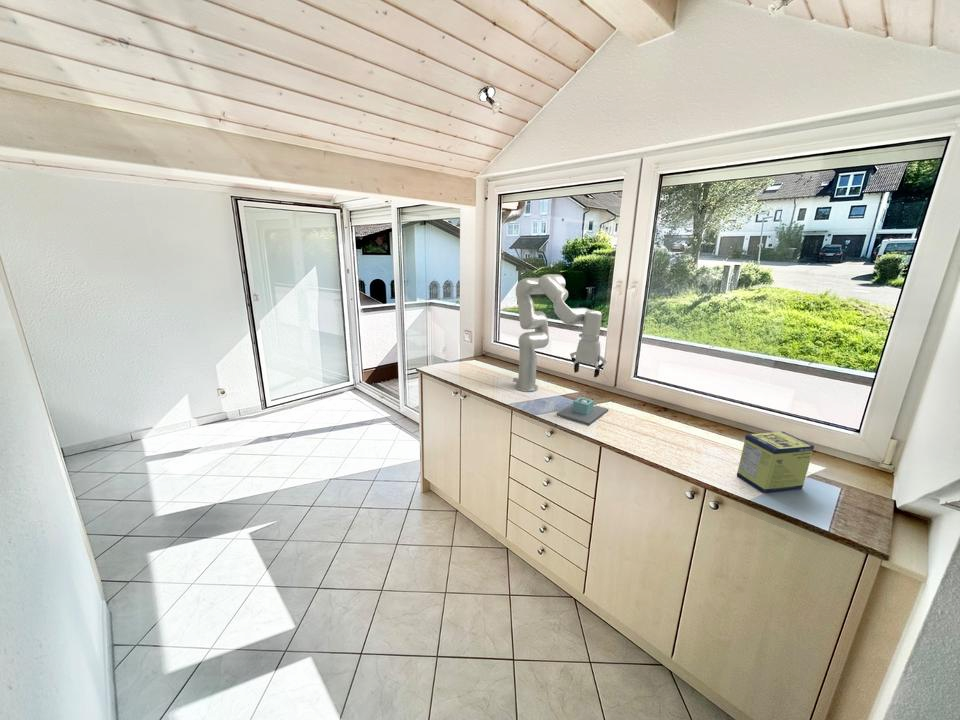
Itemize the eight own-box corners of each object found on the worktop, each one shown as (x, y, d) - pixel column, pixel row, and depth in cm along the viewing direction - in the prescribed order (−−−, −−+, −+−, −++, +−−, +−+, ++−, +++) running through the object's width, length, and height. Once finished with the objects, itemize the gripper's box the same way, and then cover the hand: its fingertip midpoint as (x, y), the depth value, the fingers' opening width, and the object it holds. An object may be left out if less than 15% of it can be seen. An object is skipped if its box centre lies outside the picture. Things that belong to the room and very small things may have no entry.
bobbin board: (556, 415, 173) (557, 403, 171) (577, 402, 189) (578, 391, 188) (589, 425, 163) (590, 412, 162) (608, 411, 180) (609, 399, 178)
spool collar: (572, 411, 175) (573, 401, 174) (579, 406, 181) (580, 397, 179) (586, 415, 171) (587, 404, 170) (592, 410, 176) (594, 400, 175)
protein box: (803, 489, 121) (815, 445, 117) (763, 494, 117) (775, 449, 113) (772, 471, 131) (783, 430, 127) (735, 475, 127) (744, 434, 123)
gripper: (568, 336, 171) (565, 372, 175) (605, 342, 160) (600, 380, 165) (576, 334, 176) (572, 368, 181) (612, 340, 166) (607, 376, 170)
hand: (586, 374), depth 173 cm, fingers open, 9 cm apart
